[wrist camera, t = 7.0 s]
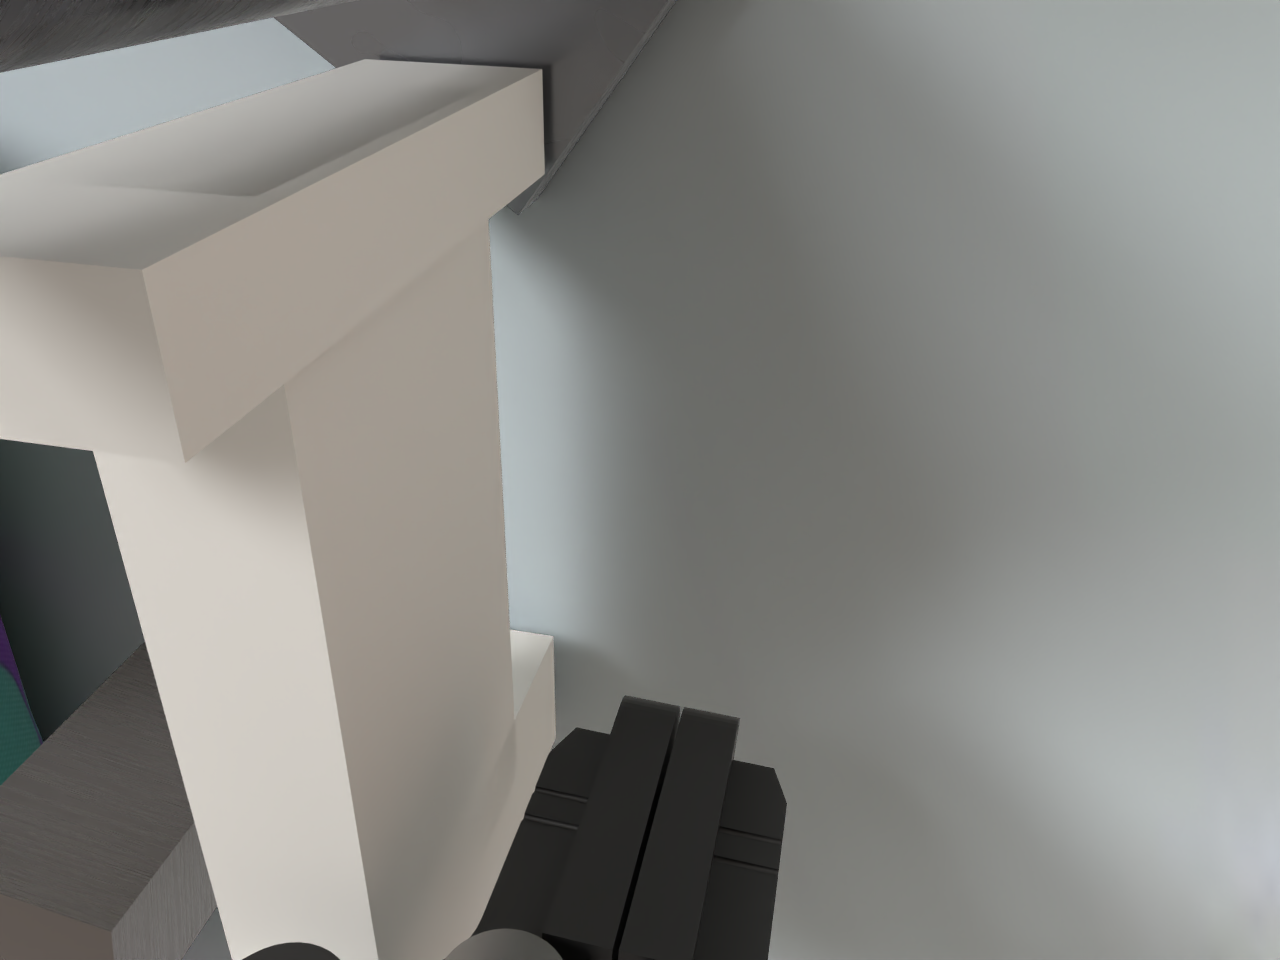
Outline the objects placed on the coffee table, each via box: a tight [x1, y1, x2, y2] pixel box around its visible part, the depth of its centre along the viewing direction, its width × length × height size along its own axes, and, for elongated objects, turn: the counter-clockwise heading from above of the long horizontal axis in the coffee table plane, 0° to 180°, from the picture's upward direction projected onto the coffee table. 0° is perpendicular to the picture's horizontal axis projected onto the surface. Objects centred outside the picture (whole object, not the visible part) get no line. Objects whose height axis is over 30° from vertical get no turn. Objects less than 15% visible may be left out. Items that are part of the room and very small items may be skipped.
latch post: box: [0, 642, 217, 960], centre depth 15 cm, size 4×4×7 cm
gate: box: [0, 59, 556, 960], centre depth 12 cm, size 11×2×8 cm, turn 178°
